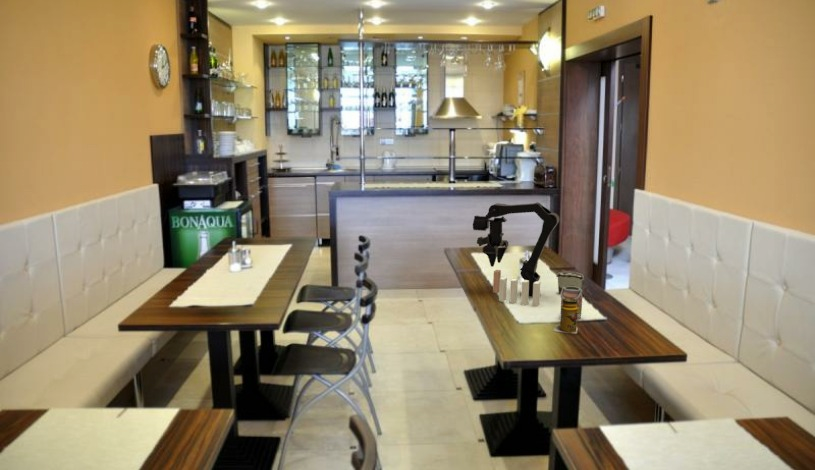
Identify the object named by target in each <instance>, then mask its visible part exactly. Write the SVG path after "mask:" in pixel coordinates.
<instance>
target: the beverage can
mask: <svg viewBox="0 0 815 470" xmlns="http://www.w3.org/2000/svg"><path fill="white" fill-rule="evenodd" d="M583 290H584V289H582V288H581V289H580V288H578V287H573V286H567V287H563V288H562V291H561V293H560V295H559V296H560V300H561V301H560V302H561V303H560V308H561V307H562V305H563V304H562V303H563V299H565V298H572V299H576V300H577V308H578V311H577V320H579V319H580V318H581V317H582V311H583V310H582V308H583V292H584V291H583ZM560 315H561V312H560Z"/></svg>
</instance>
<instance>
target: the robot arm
mask: <svg viewBox="0 0 815 470" xmlns="http://www.w3.org/2000/svg"><path fill="white" fill-rule="evenodd" d="M522 213H524V214H525V213H535V214H536V215H537V217H539V218H540V219H541V220H542V221H543V223H542V227H541V232H540V233H539V234H540V235H539V237H538V239H537V242H536V243H535V246H534V249H533V250H532V253H531V255H530V257H529V259H528V260H527V259H525V260H524V261H523V263H522V265H521V268H520V269H519V270H520V277H521V278H522V279H523V281H524V280H529V295H528V298H533V283H534V282H536V281H538V282H540V278H541V275H539V273H538V271H537V268H538V262H539V260H540V257H541V255H542V252H543V251H544V248H545V246H546V244H547V242H548V239H549V237H550V235H551V233H553V231H554V229H555V228H556V227H557V225H558V224H559V222H560V216H559V215H558V213H555V212H552V211H551V210H550V209H548V208H547V207H546V206H543V204H541V202H533V203H520V204H519V203H518V204H506V203H499V202H498V203H497V202H496V203H493V204H491V205H490V206H489V208H488V212H487V214H486V215H485V216H484V215H474V217H473V222H472V230H473V231H483V232H484V231H485V232H486V231H487V230H489V233H487V236H485V237H483V236H480V237H477V239H476V244H477V245H478V246H479V247H481V246H483V247H482V253H484V254H485V255H486V256H487V258H488V261H489V265H490V267H491V268H492V267H494V266H495V263H496V260H497V263H498V264H500V263H501V261H502V260H503V257H504V255H505V253H506V252H507V249H508V247H509V241H508V240H506V239H503V236H504V232H503V223H506V222H507V221H508V220H507V219H506V218H505V215H509V214H510V215H511V214H522Z"/></svg>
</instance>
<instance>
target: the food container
mask: <svg viewBox="0 0 815 470" xmlns="http://www.w3.org/2000/svg"><path fill="white" fill-rule="evenodd" d="M556 278H557V287H558V288H557V289H558V290H557V291H558V295H559V296H560V293H561V291H562V288H563V287H567V286H573V287H578V288H580V289H581V290H582V286H583V281H585V278H584V274H583V273H580V272H577V271H560V272H557V274H556Z"/></svg>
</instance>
